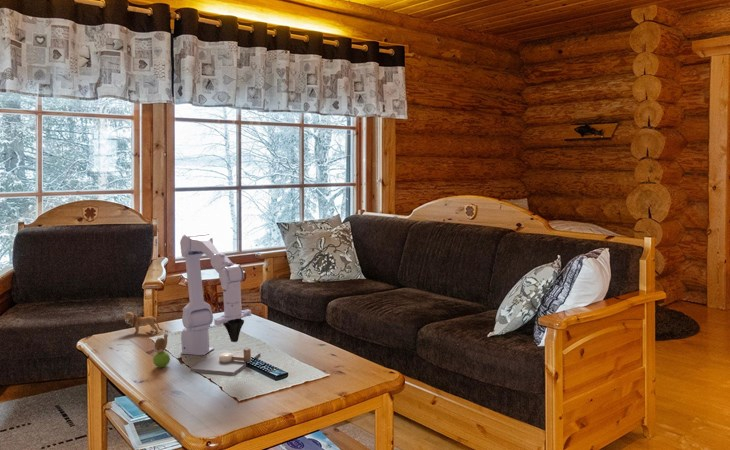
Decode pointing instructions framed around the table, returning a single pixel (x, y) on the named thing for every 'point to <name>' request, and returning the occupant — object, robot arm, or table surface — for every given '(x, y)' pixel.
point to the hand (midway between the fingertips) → (234, 341)
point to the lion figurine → (141, 321)
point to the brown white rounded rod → (236, 356)
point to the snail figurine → (161, 352)
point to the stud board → (222, 364)
